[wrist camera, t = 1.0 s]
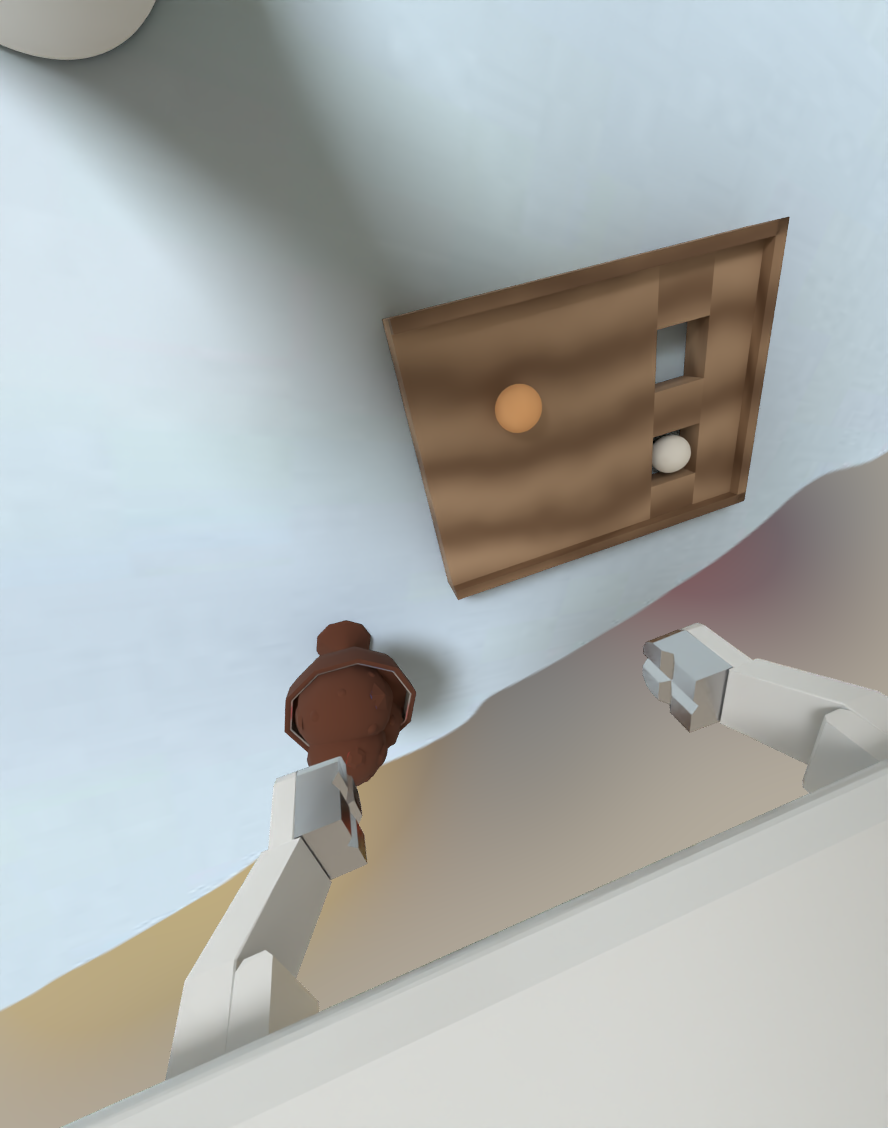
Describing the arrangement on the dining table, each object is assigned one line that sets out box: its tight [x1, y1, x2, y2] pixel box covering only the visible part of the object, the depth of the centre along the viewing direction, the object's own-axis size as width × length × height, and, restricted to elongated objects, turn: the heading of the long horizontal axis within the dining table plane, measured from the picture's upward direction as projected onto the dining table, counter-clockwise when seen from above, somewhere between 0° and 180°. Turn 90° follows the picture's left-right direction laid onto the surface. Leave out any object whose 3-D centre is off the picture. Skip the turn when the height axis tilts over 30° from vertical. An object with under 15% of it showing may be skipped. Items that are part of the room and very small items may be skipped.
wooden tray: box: [382, 217, 789, 600], centre depth 39 cm, size 24×32×4 cm
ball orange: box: [495, 384, 542, 433], centre depth 34 cm, size 4×4×4 cm
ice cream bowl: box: [285, 620, 416, 786], centre depth 38 cm, size 11×11×15 cm
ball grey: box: [652, 435, 691, 473], centre depth 43 cm, size 4×4×4 cm
